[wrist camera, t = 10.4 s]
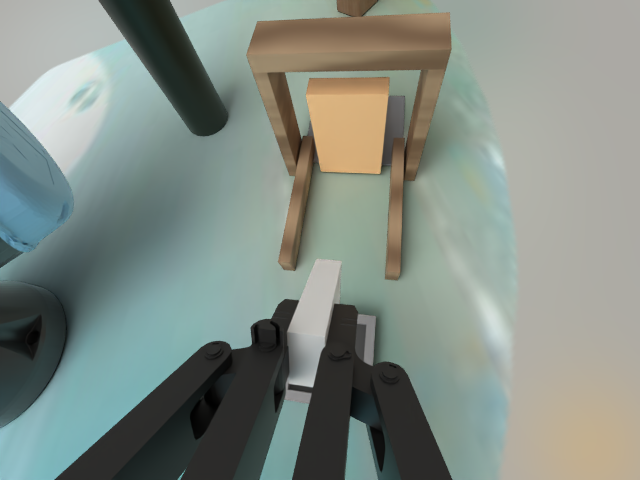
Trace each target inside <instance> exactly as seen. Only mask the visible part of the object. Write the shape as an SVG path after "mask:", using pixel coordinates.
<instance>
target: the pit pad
mask: <svg viewBox="0 0 640 480" xmlns="http://www.w3.org/2000/svg"><path fill="white" fill-rule="evenodd" d="M375 323H376V316H371V315H362V314H358V319H357V333H356V346H355V352H356V354H357V356H358V357H359V358H360V359H361V360H362V361H363V362H365V363H367V364H369V365H372V366H373V355H374V339H375ZM312 390H313V387H307V386H301V385H294V384H289V376H288V379H287V382H286V395H285V398H284V400H290V401H296V402H302V403H308V404H309V403H310V398H311V394H312Z"/></svg>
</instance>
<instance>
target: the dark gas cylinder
mask: <svg viewBox="0 0 640 480" xmlns="http://www.w3.org/2000/svg"><path fill="white" fill-rule="evenodd" d="M99 2H100V3H101V5H102V6H103V8H104V9H105V10H106V12H107V13H108V15H109V16H110V17H111V19H112V20H113V22H114V23H115V24H116V26H117V27H118V29H119V30H120V32H121V33H122V35H123V36H124V37H125V39H126V40H127V42H128V43H129V44H130V46H131V47H132V49H133V50H134V52H135V53H136V54H137V56H138V57H139V59H140V60H141V61H142V63H143V64H144V66H145V67H146V69H147V70H148V71H149V73H150V74H151V76H152V77H153V79H154V80H155V81H156V83H157V84H158V86H159V87H160V88H161V90H162V91H163V93H164V94H165V96H166V97H167V98H168V100H169V101H170V103H171V104H172V105H173V107H174V108H175V110H176V111H177V113H178V114H179V115H180V117H181V118H182V120H183V121H184V123H185V124H186V125H187V127H188V128H189V130H190V131H191V132H192V133H193V134H195V135H198V136H208V135H211V134H214V133H216V132H218V131H219V130H220V129H221V128H222V127H223V126H224V125H225V123H226V121H227V118H228V115H227V111H226V109H225V107H224V105H223V104H222V102H221V100H220V98H219V96H218V94H217V92H216V90H215V88H214V86H213V84H212V82H211V80H210V78H209V76H208V74H207V72H206V70H205V68H204V66H203V65H202V63H201V61H200V59H199V57H198V55H197V53H196V51H195V49H194V47H193V45H192V43H191V41H190V39H189V37H188V35H187V33H186V31H185V29H184V28H183V26H182V24H181V22H180V20H179V18H178V16H177V14H176V12H175V10H174V8H173V6H172V4H171V2H170V0H99Z"/></svg>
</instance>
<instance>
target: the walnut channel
mask: <svg viewBox="0 0 640 480" xmlns="http://www.w3.org/2000/svg"><path fill="white" fill-rule="evenodd" d="M451 49H452V48H451V29H450V13H427V14H406V15H384V16H363V17H341V18H320V19H298V20H277V21H257V24H256V27H255V30H254V33H253V36H252V39H251V42H250V45H249V48H248V51H247V54H246V56H247V58H248V61H249V64H250V67H251V69H252V72H253V75H254V78H255V81H256V83H257V86H258V89H259V92H260V95H261V97H262V100H263V103H264V106H265V108H266V111H267V114H268V117H269V120H270V122H271V125H272V128H273V131H274V134H275V136H276V139H277V142H278V145H279V147H280V150H281V153H282V156H283V159H284V161H285V164H286V167H287V170H288V172H289V175H290V176H295V179H294V184H293V189H292V194H291V199H290V204H289V209H288V214H287V220H286V225H285V230H284V235H283V240H282V245H281V250H280V255H279V260H278V262H279V264H280V265H281V266H282V268H283V269H284V270H293V271H295V267H296V261H297V255H298V249H299V244H300V238H301V232H302V226H303V220H304V215H305V209H306V203H307V197H308V192H309V186H310V180H311V174H312V169H313V159H314V154H315V144H314V139H313V136H303V139H301V135H300V131H299V128H298V124H297V120H296V116H295V112H294V108H293V104H292V100H291V96H290V92H289V88H288V84H287V80H286V76H285V72H322V71H380V70H421V73H420V78H419V83H418V88H417V92H416V97H415V102H414V107H413V112H412V117H411V122H410V127H409V132H408V137H407V142H406V147H405V152H404V141H405V138H394V139H393V146H392V158H391V174H390V193H389V212H388V231H387V250H386V269H385V279H388V280H398V277H399V275H400V263H401V233H402V202H403V180H408V181H414V180H415V176H416V173H417V169H418V166H419V162H420V159H421V155H422V152H423V148H424V144H425V141H426V137H427V134H428V130H429V127H430V123H431V120H432V116H433V113H434V109H435V106H436V102H437V99H438V95H439V92H440V88H441V85H442V81H443V78H444V74H445V71H446V67H447V63H448V60H449V56H450V53H451ZM403 171H404V179H403Z"/></svg>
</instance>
